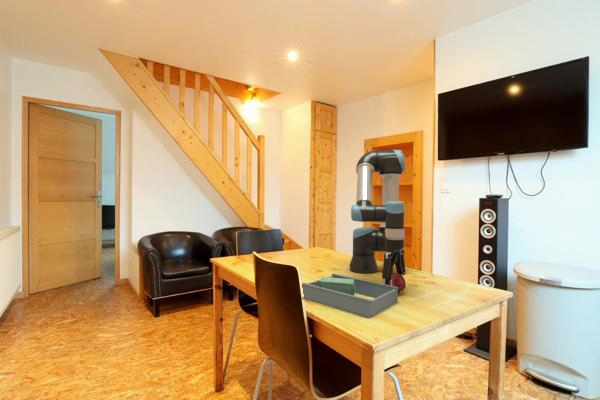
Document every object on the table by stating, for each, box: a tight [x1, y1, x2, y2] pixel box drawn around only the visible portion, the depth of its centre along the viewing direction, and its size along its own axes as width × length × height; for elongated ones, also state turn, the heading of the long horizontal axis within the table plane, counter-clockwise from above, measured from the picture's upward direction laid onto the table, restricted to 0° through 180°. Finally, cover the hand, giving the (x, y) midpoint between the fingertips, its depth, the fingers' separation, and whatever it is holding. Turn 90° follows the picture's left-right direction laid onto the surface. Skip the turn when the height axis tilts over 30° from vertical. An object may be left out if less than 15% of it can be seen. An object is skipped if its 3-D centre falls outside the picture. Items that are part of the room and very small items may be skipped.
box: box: [319, 276, 356, 296], centre depth 123 cm, size 7×14×8 cm, turn 77°
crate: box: [301, 273, 399, 319], centre depth 121 cm, size 21×30×6 cm
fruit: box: [382, 270, 406, 294], centre depth 130 cm, size 9×10×10 cm
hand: (394, 292), depth 130 cm, fingers closed on fruit, 9 cm apart
